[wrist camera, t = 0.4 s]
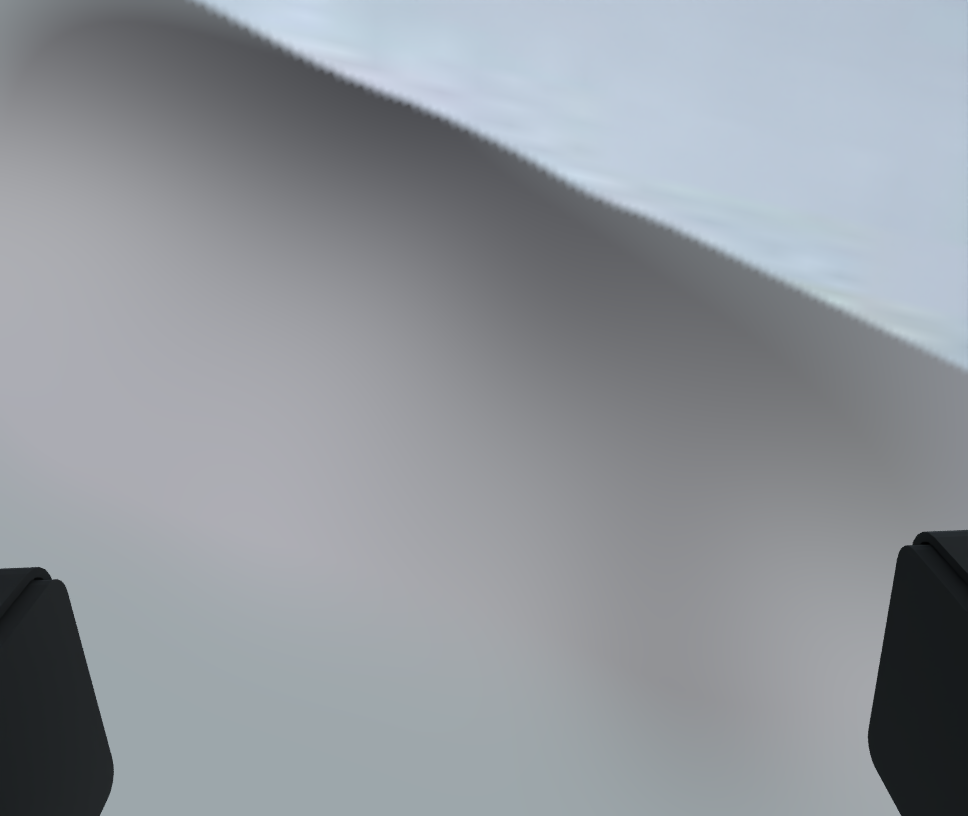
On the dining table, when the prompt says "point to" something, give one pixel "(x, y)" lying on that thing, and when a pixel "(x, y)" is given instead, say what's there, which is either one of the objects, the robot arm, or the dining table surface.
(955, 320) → the dining table surface
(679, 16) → the dining table surface
